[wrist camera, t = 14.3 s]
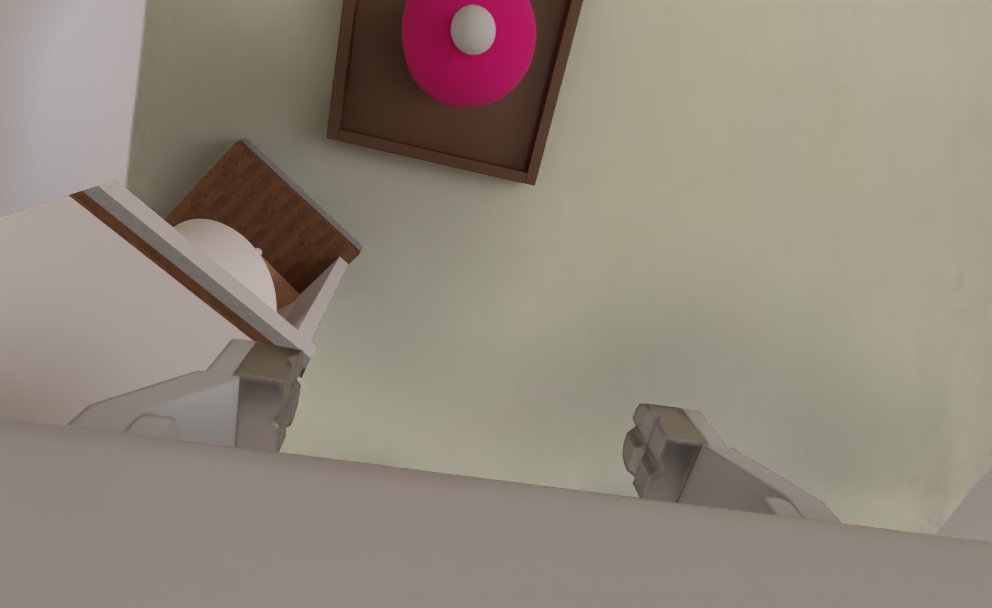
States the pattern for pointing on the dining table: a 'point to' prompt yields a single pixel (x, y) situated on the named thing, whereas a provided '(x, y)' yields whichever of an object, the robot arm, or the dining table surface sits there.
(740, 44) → the dining table surface
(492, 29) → the pepper mill
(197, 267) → the two-tier shelf stand
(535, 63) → the serving tray
